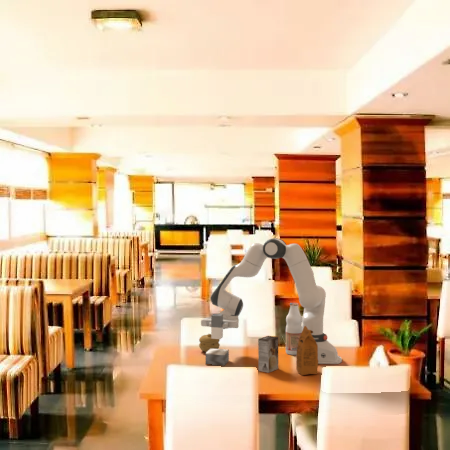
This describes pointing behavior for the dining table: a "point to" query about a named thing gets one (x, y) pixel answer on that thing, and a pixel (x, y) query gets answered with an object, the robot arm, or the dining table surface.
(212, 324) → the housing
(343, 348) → the dining table surface
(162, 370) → the dining table surface
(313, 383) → the dining table surface
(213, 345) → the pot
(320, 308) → the robot arm
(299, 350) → the coffee package
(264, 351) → the coffee box
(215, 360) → the stand
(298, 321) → the fruit juice
